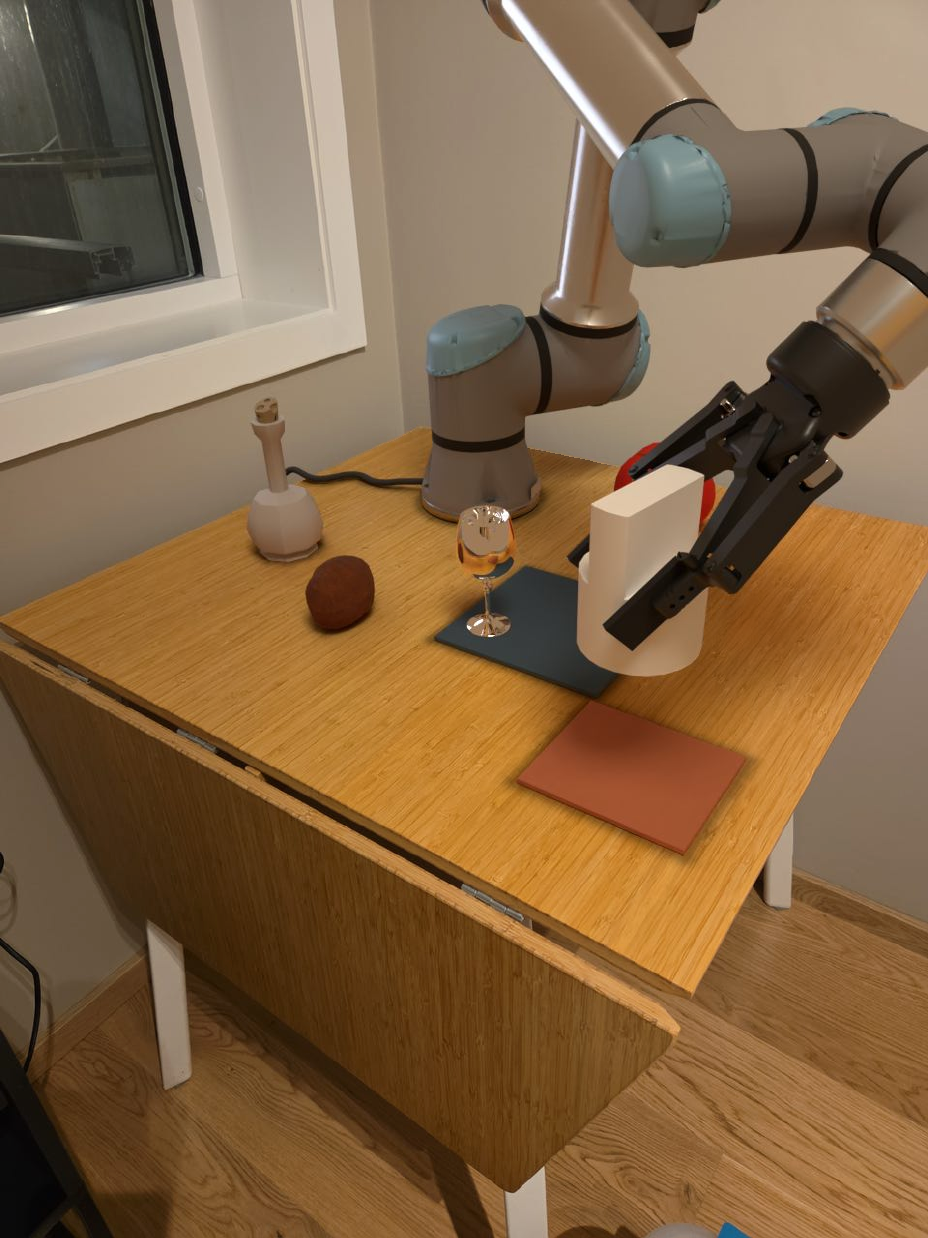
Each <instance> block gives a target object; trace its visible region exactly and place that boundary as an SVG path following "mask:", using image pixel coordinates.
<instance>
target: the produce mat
mask: <svg viewBox="0 0 928 1238" xmlns="http://www.w3.org/2000/svg"><path fill="white" fill-rule="evenodd" d="M746 762H747V756H746V755H743V754H740V753H737V752H735V751H732V750H730V749H727V748H724V747H721V746H718V745H716V744H712V743H710V742H707V741H705V740H702V739H699V738H696V737H693V736H690V735H688V734H685V733H682V732H680V731H676V730H674V729H671V728H669V727H666V726H663V725H660V724H657V723H654V722H651V721H649V720H647V719H644V718H641V717H639V716H635V715H634V714H633V715H632V714H630V713H627V712H624V711H622V710H619V709H616V708H614V707H610V706H607V705H605V704H602V703H600V702H597V701H594V700H590V701H588V703H586V704H585V706H584V707H583V708H581V710H580V711H579V712H578V713H577V714H576V716H574V718H573V719H571V721H570V722H568V723H567V725H566V726H564V728H562V730H561V731H560V732H559V733H558V734H557V736H556V737H554V739H553V740H552V741H551V742H550V743H549V744H548V745H547V746H546V747H545V748H544V749H543V750H542V752H541V753H539V755H538V756H537V757H536V758H535V759H534V760H532V762H531V763H530V764H529V765H528V766H527V767H526V769H524V770H523V772H522V773H521V774H520V775H519V776H518V777H517V778H516V783H517V784H519V785H521V786H523V787H526V788H528V789H530V790H532V791H535V792H537V793H540V794H542V795H544V796H545V797H548V798H551V799H553V800H556V801H557V802H560V803H562V804H564V805H567V806H569V807H571V808H574V809H576V810H578V811H581V812H583V813H585V814H587V815H590V816H591V817H592V816H593V817H595V818H596V819H598V820H601V821H603V822H606V823H608V824H610V825H612V826H615V827H617V828H620V829H622V830H624V831H627V832H629V833H631V834H634V835H636V836H639V837H641V838H643V839H645V840H647V841H650V842H652V843H655V844H656V845H659V846H661V847H664V848H666V849H668V850H671V851H673V852H675V853H677V854H680V855H682V856H685V855H686V853H687V851H688V849H689V848H690V847H691V846H692V844H693V842H694V841H695V839H696V838H697V836H698V834H699V833H700V832H701V830H702V828H703V827H704V825H705V824H706V822H707V821H708V819H709V818H710V817H711V815H712V813H713V811H714V810H715V809H716V807H717V806H718V804H719V803H720V801H721V799H722V798H723V796H724V795H725V794H726V792H727V790H728V789H729V787H730V786H731V784H732V783H733V781H734V780H735V778H736V777H737V776H738V774H739V772H740V770H741V769H742V768H743V766H744V764H745V763H746Z"/></svg>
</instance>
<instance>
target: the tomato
mask: <svg viewBox="0 0 928 1238" xmlns="http://www.w3.org/2000/svg"><path fill="white" fill-rule="evenodd" d="M660 442H661V441H660ZM660 442H659V441H658V442H652V443H650V444H648V445H646V446H643V447H642V448H640V449H639V450H638V451H637V452H636V453H634V454H633V455H632V456H630V457H629V458H628V459H627V460H626V461H624V462H623V464H621V466H620V468H619V469H618V472H617V474H616V476H615V479H614V484H613V492H615V491H617V490H619V489H621V488H623V487H625V486H627V485H629V484H630V483H632V478H631V477H630V476H629V475H628V470H629V468H630V467H631V466H632V465H633V464H634V463H636V462H637V461H638V460H639V459H641V458H642V457H643V456H644V455H646V454H647V453H648V452H649V451H651V450H652V449H653V448H654V447H655V446H657V445H658V444H659V443H660ZM648 471H651V469H648ZM716 492H717V491H716V483H715V480H714V477H713V478H711V479H709V480H707V481H706V482H704V484H703V493H702V503H701V512H700V522H699V524H701V523H702V522H703V521H704V520H705V519H706V518H708V516H709V514H710V513H711V512H712V510H713V508H714V505H715V502H716V498H717V496H716V495H717V494H716Z"/></svg>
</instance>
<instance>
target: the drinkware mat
mask: <svg viewBox="0 0 928 1238" xmlns="http://www.w3.org/2000/svg"><path fill="white" fill-rule="evenodd" d="M490 609H491V613H498V614H501V615H504V616H506V617H507V618H508V619H509V620H510V622H511V627H510V629H509V630H508V631H507V632H506V633H504V634H502V635H499V636H495V637H480V636H476V635H474V634H472V633H470V632H469V631H468V629H467V626H466V625H467V622H468V620H469V619H470V618H472V617H473V616H475V615H478V614H482V613H486V600H485V596H484V597H483V598H482V599H480V600H479V601H478V602H476V603H475V604H474V605H473V606H471V607H470V608H469V609H467V610H466V611H465V612H463V613H462V614H461V615H460V616H458V617H457V618H456V619H455V620H453V621H452V622H450V623H449V624H448V625H447V626H445V627H444V628H442V629H441V630H440V631H439V632H438V633H437V634H434V635H433V640H434V641H435V642H437V643H441V644H444V645H446V646H449V647H451V648H455V649H457V650H459V651H462V652H465V653H468V654H471V655H473V656H476V657H480V658H482V659H484V660H485V659H486V660H487V661H491V662H494V663H497V664H499V665H501V666H504V667H507V668H510V669H513V670H516V671H518V672H521V673H524V674H527V675H530V676H532V677H536V678H537V679H540V680H544V681H545V682H549V683H552V684H555V685H557V686H561V687H563V688H565V689H569V690H572V691H573V692H577V693H579V694H582V695H585V696H588V697H591V698H594V699H597V698H598V697H600V695H601V694H602V693H603V692H604V691H605V690H606V688H608V687H609V685H610V684H611V683H612V682H613V681H614V680H615V679H616V678H617V677H618V676H619V675H620V673H616V672H612V671H610V670H607V669H605V668H602V667H600V666H598V665H596V664H595V663H593V662H592V661H590V660H588V659H587V658H586V656H585V655H584V654H583V653H582V652H581V651H580V649H579V646H578V644H577V616H578V579H574V578H570V577H566V576H564V575H560V574H557V573H553V572H549V571H546V570H543V569H539V568H535V567H533V566H529V565H524V566H523V567H522V568H520V569H519V570H518V571H517V572H515V573H514V574H513V575H511V576H510V577H508V578H507V579H506V580H504V582H502V583H501V584H500V585H498V586H497V587H496V588H495V589H492V591H491V595H490Z"/></svg>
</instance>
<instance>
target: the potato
mask: <svg viewBox="0 0 928 1238" xmlns="http://www.w3.org/2000/svg"><path fill="white" fill-rule="evenodd" d="M304 594H305V599H306V600H305V601H306V604H307V607H308V610H309V613H310V615H311V617H312V619H313V622H315V623H316V624H317V625H318V626H320V627H321V628H323V629H327V630H338V629H343V628H344V627H345V628H346V627H347V626H349V625H352V624H353V623H354V622H356V621H357V620H359V619H360V618H361V617H362V616H364V614H366V613H368V612H369V611H370V609H371V608H372V606H373V604H374V602H375V596H376V595H375V594H376V586H375V578H374V574H373V572H372V569H371V567H370V565H369V563H367V562H366V560H364V559H363V558H360V557H359V556H355V555H348V554H344V555H337V556H333V557H331V558H328V559H327V560H325V561H324V562H322V563H321V564H319V565H318V566H317V567H316V568H315V570H314V572H313V574H312V576H311V578H310V579H309V581H308V583H307V585H306V587H305V590H304Z"/></svg>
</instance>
